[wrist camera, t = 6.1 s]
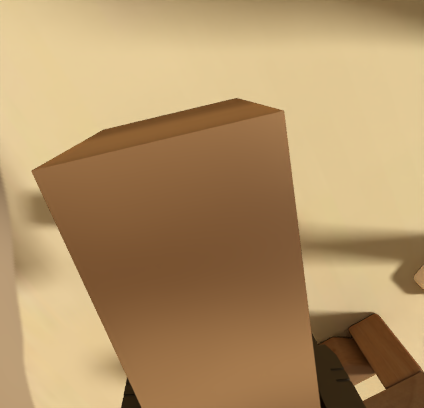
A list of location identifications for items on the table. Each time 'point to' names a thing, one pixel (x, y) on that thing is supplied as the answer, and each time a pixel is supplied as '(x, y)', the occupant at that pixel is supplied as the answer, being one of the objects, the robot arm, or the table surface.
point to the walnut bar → (192, 255)
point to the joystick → (420, 277)
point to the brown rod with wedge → (380, 364)
